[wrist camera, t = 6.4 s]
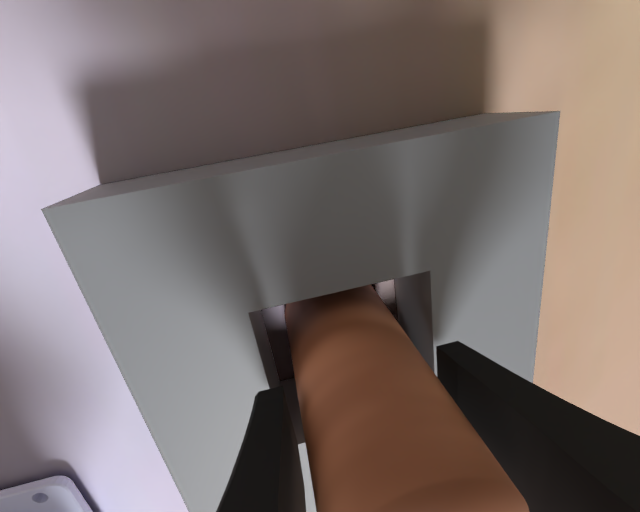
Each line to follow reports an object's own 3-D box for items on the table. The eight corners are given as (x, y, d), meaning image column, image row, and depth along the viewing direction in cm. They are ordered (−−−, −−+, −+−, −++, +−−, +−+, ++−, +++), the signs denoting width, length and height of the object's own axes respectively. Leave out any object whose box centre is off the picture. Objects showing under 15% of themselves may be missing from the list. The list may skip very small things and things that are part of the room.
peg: (295, 359, 14) (347, 641, 6) (274, 280, 12) (307, 523, 5) (381, 335, 14) (525, 577, 7) (369, 256, 12) (536, 450, 5)
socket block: (214, 466, 15) (206, 546, 12) (99, 184, 10) (41, 209, 7) (478, 394, 16) (525, 451, 13) (484, 113, 11) (560, 111, 8)
